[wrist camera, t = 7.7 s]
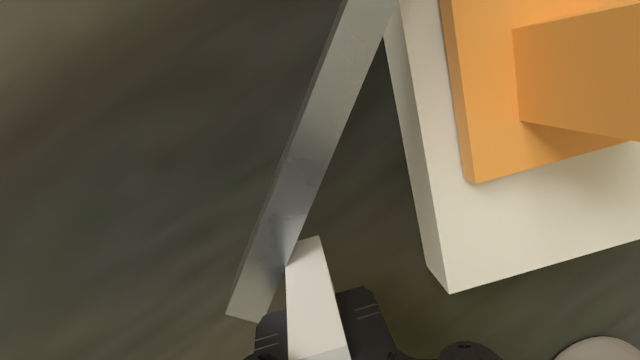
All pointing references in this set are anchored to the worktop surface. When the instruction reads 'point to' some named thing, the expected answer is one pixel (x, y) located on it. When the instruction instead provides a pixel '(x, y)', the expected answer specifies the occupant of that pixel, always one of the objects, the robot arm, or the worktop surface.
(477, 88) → the plug
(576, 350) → the coffee cup
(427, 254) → the socket block
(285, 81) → the worktop surface
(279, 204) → the grey metal rod
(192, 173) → the worktop surface
